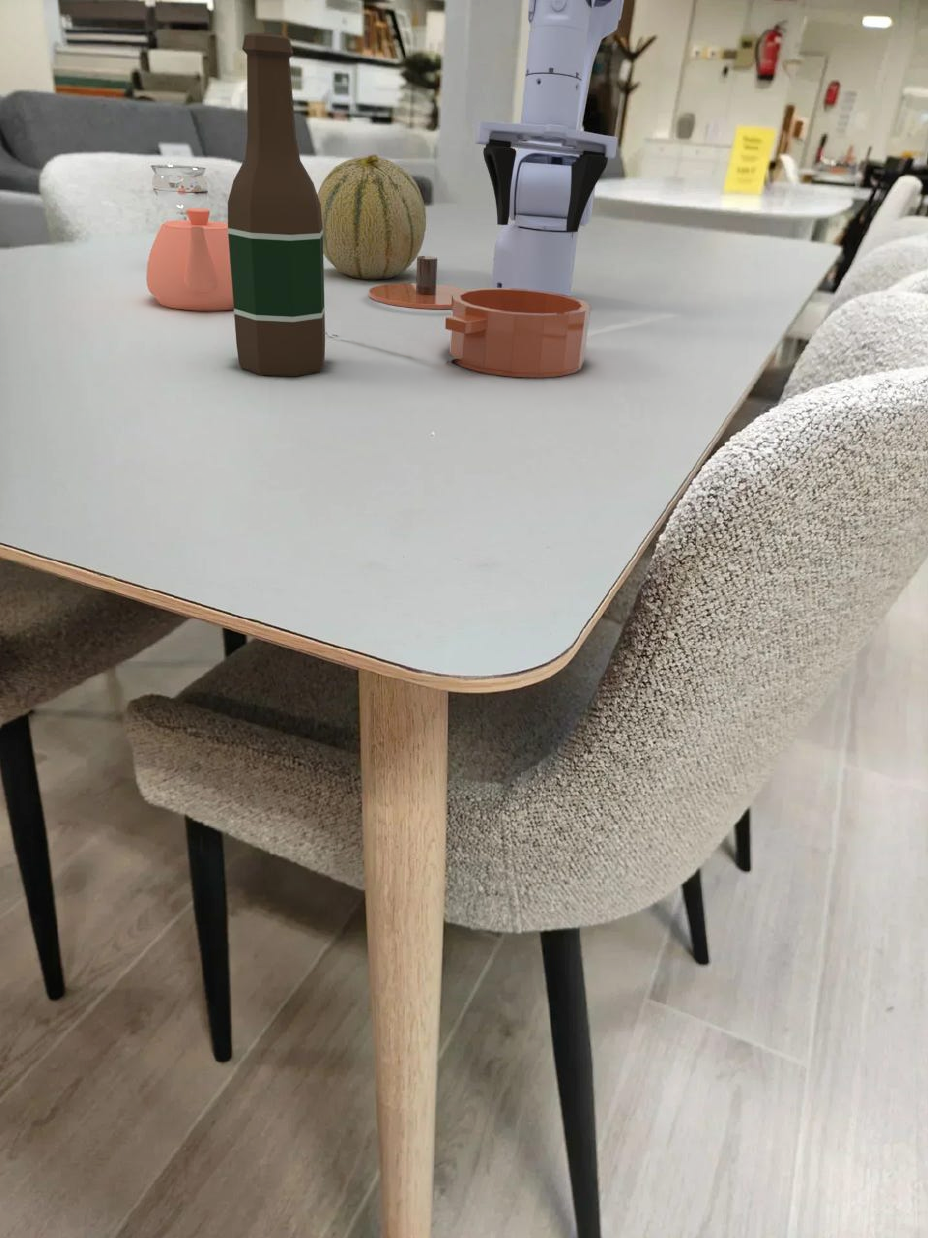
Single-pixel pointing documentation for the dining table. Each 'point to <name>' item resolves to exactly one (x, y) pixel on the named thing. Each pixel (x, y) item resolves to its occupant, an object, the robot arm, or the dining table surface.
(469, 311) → the faceted orange tub
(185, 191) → the wineglass
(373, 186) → the cantaloupe
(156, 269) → the teapot
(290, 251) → the beer bottle
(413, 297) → the pot lid
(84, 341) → the dining table surface
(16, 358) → the dining table surface
